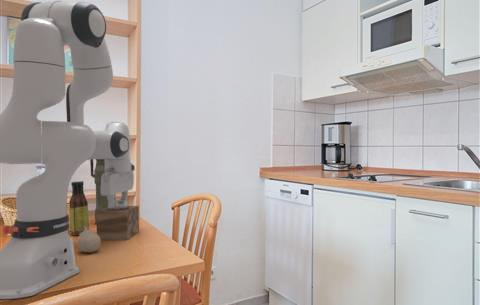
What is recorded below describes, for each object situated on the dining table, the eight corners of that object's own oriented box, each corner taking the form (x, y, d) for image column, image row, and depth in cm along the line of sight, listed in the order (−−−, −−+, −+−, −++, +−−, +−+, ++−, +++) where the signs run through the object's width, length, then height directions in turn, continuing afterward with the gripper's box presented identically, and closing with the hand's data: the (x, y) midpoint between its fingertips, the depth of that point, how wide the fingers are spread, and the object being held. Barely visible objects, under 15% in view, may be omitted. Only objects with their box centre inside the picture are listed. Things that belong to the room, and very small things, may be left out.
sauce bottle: (92, 232, 125) (91, 180, 125) (83, 236, 119) (82, 182, 119) (76, 231, 126) (75, 180, 126) (66, 236, 120) (65, 182, 120)
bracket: (124, 223, 118) (124, 200, 118) (108, 222, 118) (108, 200, 118) (127, 221, 120) (127, 199, 120) (111, 221, 121) (111, 199, 121)
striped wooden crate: (127, 239, 114) (127, 211, 114) (96, 239, 114) (96, 211, 114) (139, 232, 125) (138, 205, 125) (111, 231, 125) (110, 205, 125)
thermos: (91, 221, 143) (90, 142, 143) (120, 219, 148) (119, 142, 147) (90, 226, 135) (89, 141, 135) (120, 223, 139) (119, 141, 139)
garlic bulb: (101, 247, 105) (100, 223, 105) (100, 253, 99) (100, 227, 99) (78, 250, 102) (78, 225, 102) (76, 256, 96) (75, 229, 96)
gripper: (113, 168, 109) (114, 210, 109) (136, 165, 129) (136, 200, 129) (95, 168, 109) (95, 210, 109) (120, 166, 130) (121, 200, 130)
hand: (118, 205), depth 119 cm, fingers open, 8 cm apart
